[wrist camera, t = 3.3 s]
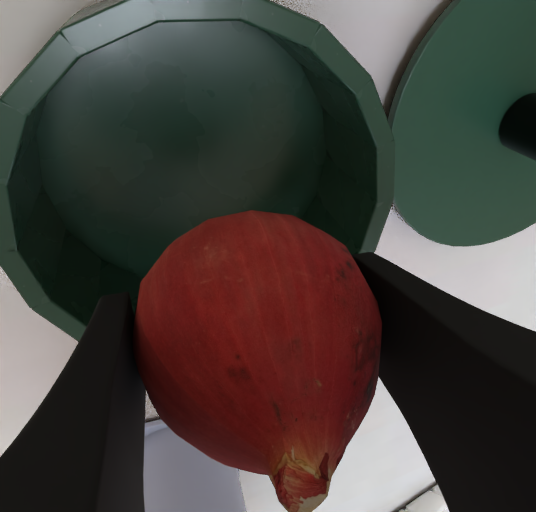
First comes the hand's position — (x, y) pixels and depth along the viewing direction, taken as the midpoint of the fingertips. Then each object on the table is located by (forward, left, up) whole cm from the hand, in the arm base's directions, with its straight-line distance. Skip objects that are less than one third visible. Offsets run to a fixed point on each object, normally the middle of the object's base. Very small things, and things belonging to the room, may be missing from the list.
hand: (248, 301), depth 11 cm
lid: (+1, -15, -8) cm, 17 cm away
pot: (0, 0, -9) cm, 9 cm away
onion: (0, 0, -3) cm, 3 cm away
